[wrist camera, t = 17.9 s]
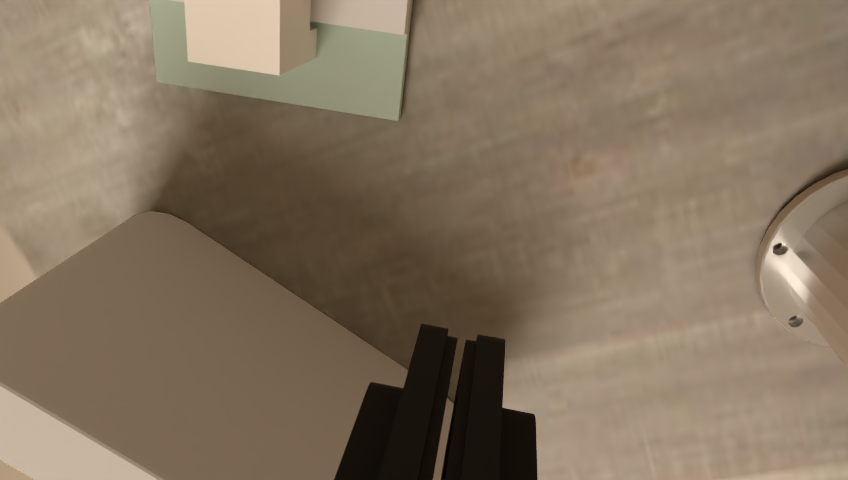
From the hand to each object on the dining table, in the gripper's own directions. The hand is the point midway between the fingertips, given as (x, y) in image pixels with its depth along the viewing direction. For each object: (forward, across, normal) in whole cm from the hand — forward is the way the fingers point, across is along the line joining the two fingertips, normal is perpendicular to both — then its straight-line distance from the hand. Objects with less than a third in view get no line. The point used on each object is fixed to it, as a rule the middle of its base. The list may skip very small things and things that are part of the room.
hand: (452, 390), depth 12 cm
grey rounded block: (+27, +12, +20) cm, 36 cm away
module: (+26, +14, -5) cm, 30 cm away
